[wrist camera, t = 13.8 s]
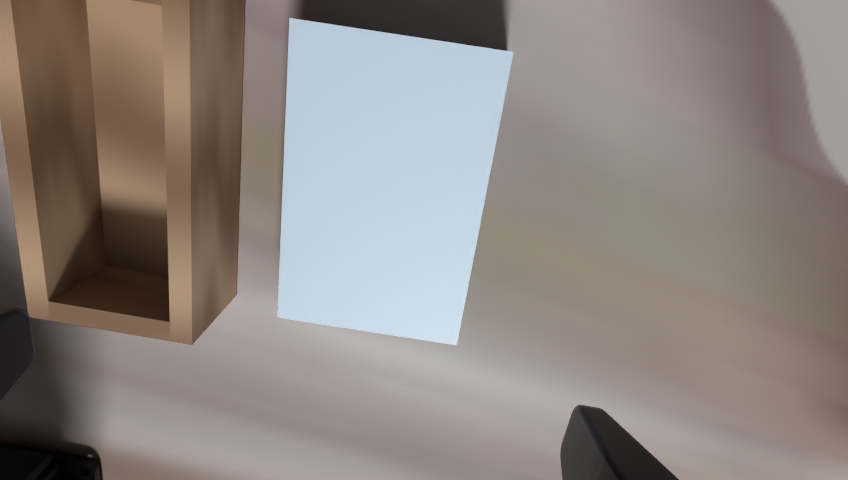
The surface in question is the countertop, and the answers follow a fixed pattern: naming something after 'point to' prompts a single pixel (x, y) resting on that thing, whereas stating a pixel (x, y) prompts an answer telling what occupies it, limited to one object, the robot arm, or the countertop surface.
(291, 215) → the lid
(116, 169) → the chisel box
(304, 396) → the countertop surface
